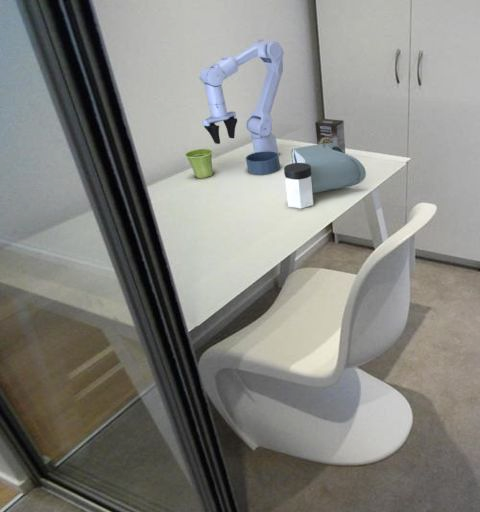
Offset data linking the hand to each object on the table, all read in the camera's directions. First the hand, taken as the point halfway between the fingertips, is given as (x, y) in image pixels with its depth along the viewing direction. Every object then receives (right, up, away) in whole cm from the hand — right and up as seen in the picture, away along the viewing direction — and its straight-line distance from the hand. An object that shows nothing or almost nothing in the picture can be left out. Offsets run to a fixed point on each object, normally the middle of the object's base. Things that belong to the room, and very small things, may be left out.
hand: (224, 140), depth 164 cm
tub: (+14, -10, +2) cm, 18 cm away
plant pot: (-7, -14, -1) cm, 15 cm away
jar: (+34, -27, -26) cm, 50 cm away
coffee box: (+40, -7, +7) cm, 41 cm away
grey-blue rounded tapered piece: (+41, -19, -12) cm, 47 cm away
